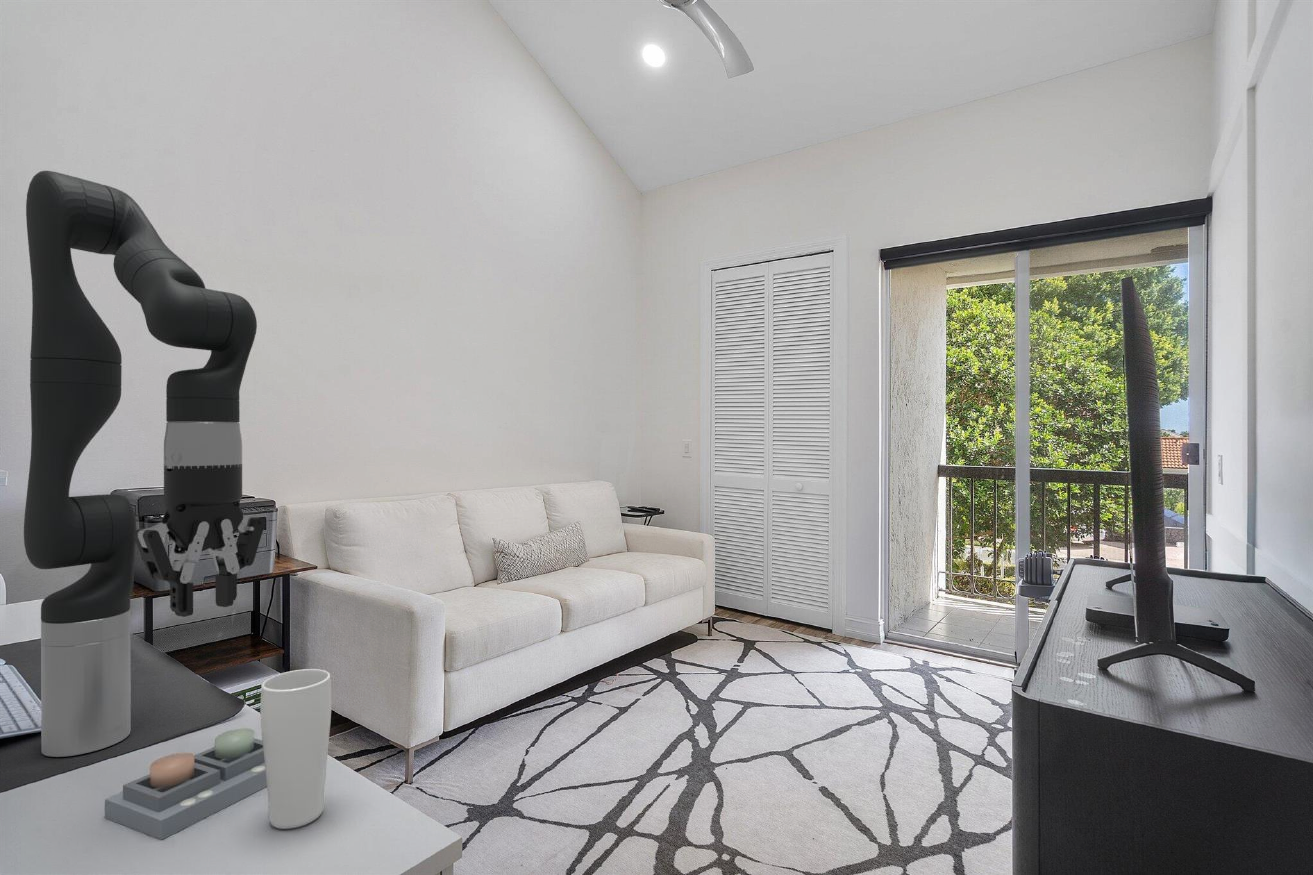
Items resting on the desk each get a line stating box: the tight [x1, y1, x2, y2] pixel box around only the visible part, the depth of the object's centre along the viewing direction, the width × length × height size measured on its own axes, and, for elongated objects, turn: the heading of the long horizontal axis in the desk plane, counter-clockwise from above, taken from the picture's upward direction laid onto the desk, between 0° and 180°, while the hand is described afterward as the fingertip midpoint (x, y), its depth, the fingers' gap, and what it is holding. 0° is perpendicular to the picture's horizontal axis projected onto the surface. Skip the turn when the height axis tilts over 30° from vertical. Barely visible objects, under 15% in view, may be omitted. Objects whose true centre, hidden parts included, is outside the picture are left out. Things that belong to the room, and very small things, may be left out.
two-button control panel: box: [104, 737, 267, 841], centre depth 78 cm, size 10×15×4 cm, turn 156°
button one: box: [214, 728, 255, 759], centre depth 81 cm, size 4×4×2 cm
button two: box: [149, 752, 194, 787], centre depth 75 cm, size 4×4×2 cm
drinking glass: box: [260, 668, 332, 830], centre depth 73 cm, size 7×7×15 cm
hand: (204, 609), depth 78 cm, fingers open, 4 cm apart
